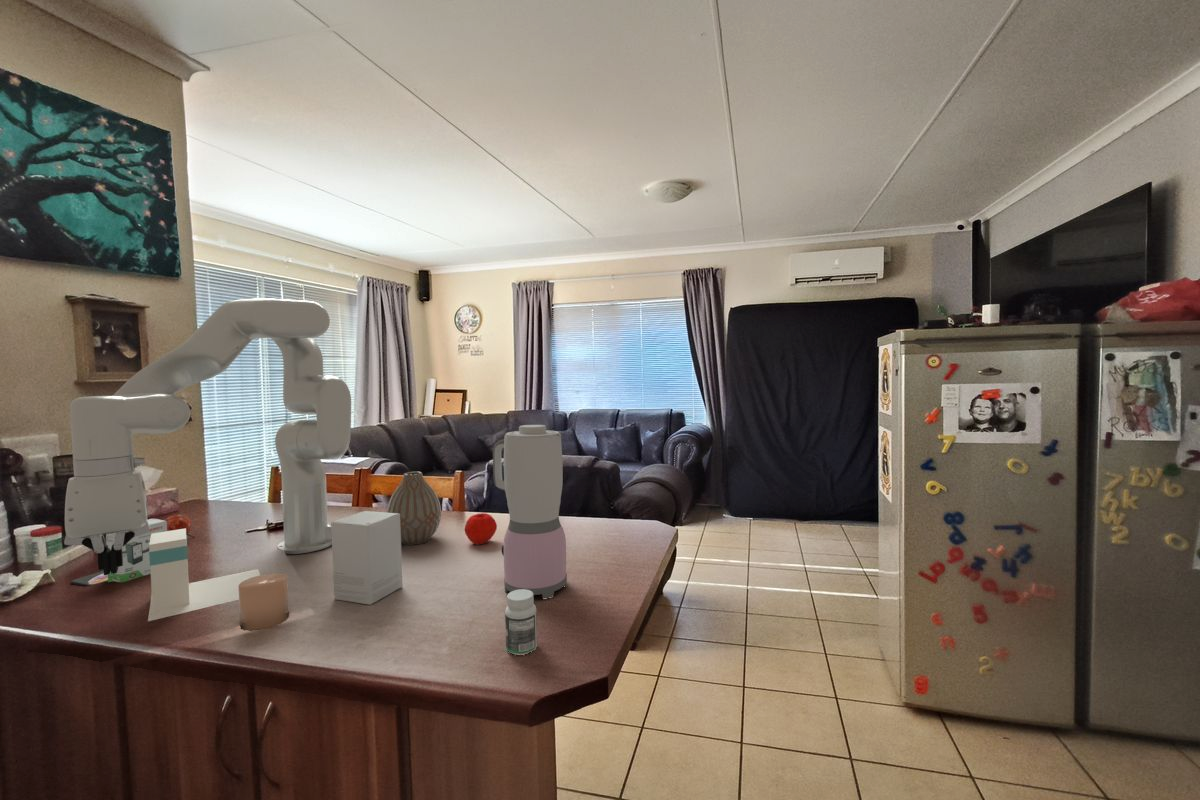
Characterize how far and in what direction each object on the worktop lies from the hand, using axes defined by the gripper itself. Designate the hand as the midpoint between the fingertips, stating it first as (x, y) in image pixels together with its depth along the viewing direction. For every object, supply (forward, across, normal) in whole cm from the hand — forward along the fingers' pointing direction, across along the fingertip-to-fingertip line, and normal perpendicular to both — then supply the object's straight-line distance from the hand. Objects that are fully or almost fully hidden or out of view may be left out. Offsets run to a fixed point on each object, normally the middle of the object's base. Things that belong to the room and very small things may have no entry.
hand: (111, 571), depth 88 cm
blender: (+9, -62, +36) cm, 72 cm away
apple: (+9, -67, +5) cm, 68 cm away
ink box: (+9, -2, -22) cm, 24 cm away
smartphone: (+9, +1, -30) cm, 31 cm away
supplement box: (+9, -37, +18) cm, 42 cm away
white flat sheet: (+8, -13, 0) cm, 16 cm away
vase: (+9, -55, -8) cm, 56 cm away
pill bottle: (+9, -49, +55) cm, 74 cm away
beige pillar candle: (+9, -20, +18) cm, 28 cm away
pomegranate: (+9, -8, -49) cm, 51 cm away
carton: (+7, -8, 0) cm, 11 cm away
